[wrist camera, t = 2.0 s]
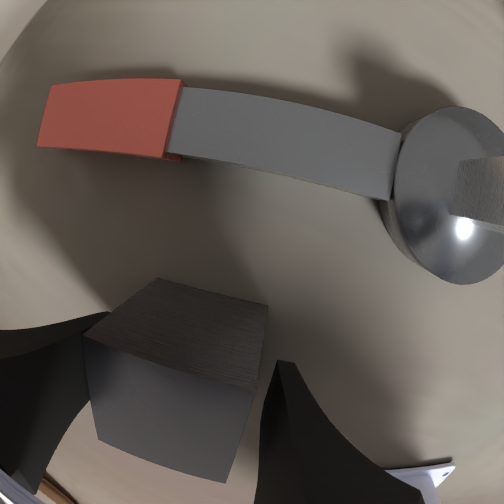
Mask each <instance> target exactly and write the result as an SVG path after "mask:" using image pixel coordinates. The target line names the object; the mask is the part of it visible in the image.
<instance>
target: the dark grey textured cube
mask: <svg viewBox="0 0 504 504" xmlns="http://www.w3.org/2000/svg"><path fill="white" fill-rule="evenodd" d="M267 309H268V306H266V305H261V304H257V303H253V302H249V301H244V300H240V299H236V298H232V297H228V296H224V295H220V294H216V293H212V292H208V291H204V290H200V289H196V288H192V287H189V286H185V285H181V284H177V283H174V282H170V281H166V280H163V279H159V278H156V279H155V280H154V281H152V282H151V283H150V284H148V285H147V286H146V287H144V288H143V289H142V290H140V291H139V292H138V293H136V294H135V295H134V296H132V297H131V298H130V299H128V300H127V301H126V302H124V303H123V304H122V305H120V306H119V307H118V308H116V309H115V310H114V311H112V312H111V313H110V314H108V315H107V316H106V317H105V318H103V319H102V320H101V321H99V322H98V323H97V324H96V325H94V326H93V327H92V328H90V329H89V330H88V331H87V332H85V333H84V334H83V335H82V336H83V348H84V358H85V367H86V375H87V382H88V389H89V395H90V401H91V407H92V412H93V417H94V422H95V427H96V431H97V436H98V440H100V441H102V442H105V443H107V444H109V445H111V446H113V447H115V448H118V449H120V450H122V451H125V452H127V453H129V454H132V455H134V456H137V457H139V458H142V459H144V460H147V461H150V462H152V463H155V464H158V465H161V466H164V467H167V468H170V469H173V470H176V471H179V472H183V473H186V474H189V475H193V476H197V477H200V478H204V479H208V480H212V481H216V482H221V483H226V481H227V478H228V475H229V472H230V469H231V466H232V463H233V460H234V457H235V454H236V451H237V448H238V445H239V442H240V439H241V436H242V433H243V430H244V427H245V424H246V421H247V418H248V415H249V411H250V408H251V405H252V402H253V398H254V395H255V392H256V386H257V380H258V373H259V366H260V359H261V352H262V345H263V338H264V331H265V324H266V316H267Z"/></svg>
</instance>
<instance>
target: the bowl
mask: <svg viewBox="0 0 504 504" xmlns="http://www.w3.org/2000/svg"><path fill="white" fill-rule="evenodd" d="M0 496H1V497H2V498H3V499H4V500H5V501H6V502H7V503H8V504H13V503H12V502H11V501H10V500H9V499H7V498H6V497H5V496H4V495H3V494H1V493H0ZM34 496H35V497H37V498H38V499H39V500H41V501H42V502H44V503H45V504H74V503H73V502H72V501H71V500H70V499H69V498H68V497H67V496H65V495H64V494H63V493H62V492H61V491H59V490H58V489H57V488H56V487H55V486H53V485H52V484H51V483H50V482H48V481H47V480H46V479H44V478H42V480H41V483H40V485H39V488H38V491H37V494H36V495H34Z"/></svg>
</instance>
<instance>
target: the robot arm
mask: <svg viewBox="0 0 504 504" xmlns="http://www.w3.org/2000/svg"><path fill="white" fill-rule="evenodd" d="M110 313H111V312H108V311H106V312H100V313H96V314H92V315H88V316H84V317H80V318H76V319H72V320H68V321H64V322H60V323H55V324H51V325H46V326H41V327H35V328H28V329H18V330H0V493H1V494H3V495H4V496H5V497H6V498H7V499H9V500H10V501H11V502H12V503H13V504H45V503H44V502H42V501H41V500H39V499H38V498H37V497H35V496H34V495H36V494H37V491H38V488H39V485H40V483H41V480H42V478H43V475H44V472H45V470H46V468H47V466H48V464H49V462H50V460H51V457H52V455H53V453H54V451H55V450H56V448H57V446H58V444H59V442H60V441H61V439H62V437H63V435H64V434H65V432H66V431H67V429H68V427H69V426H70V424H71V423H72V421H73V420H74V418H75V417H76V416H77V414H78V413H79V412H80V411H81V409H82V408H83V407H84V406H85V405H86V404H87V403H88V401H89V400H90V395H89V389H88V382H87V375H86V367H85V358H84V348H83V336H82V335H83V334H84V333H85V332H87V331H88V330H89V329H90V328H92V327H93V326H94V325H96V324H97V323H98V322H99V321H101V320H102V319H103V318H105V317H106V316H107V315H108V314H110ZM454 468H455V463H454V462H451V463H445V464H439V465H433V466H425V467H417V468H408V469H395V470H383V469H382V468H380V467H379V466H377V465H376V464H374V463H373V462H372V461H371V460H369V459H368V458H367V457H365V456H364V455H363V454H362V453H361V452H360V451H358V450H357V449H356V448H355V447H354V446H353V445H352V444H351V443H350V442H349V441H348V440H347V439H346V438H345V437H344V436H343V435H342V434H341V433H340V432H339V431H338V430H337V429H336V428H335V426H334V425H333V424H332V423H331V422H330V420H329V419H328V418H327V416H326V415H325V414H324V412H323V411H322V410H321V408H320V407H319V405H318V404H317V402H316V400H315V399H314V397H313V396H312V394H311V392H310V391H309V389H308V387H307V385H306V384H305V382H304V380H303V378H302V376H301V374H300V372H299V370H298V368H297V367H296V365H295V363H291V362H286V361H281V360H277V363H276V366H275V369H274V372H273V376H272V379H271V382H270V385H269V388H268V391H267V394H266V397H265V400H264V404H263V410H262V416H261V422H260V443H259V470H258V482H257V488H256V494H255V500H254V504H441V501H440V498H439V495H438V493H437V490H436V487H437V486H438V485H439V484H440V483H441V482H442V481H443V480H444V479H445V478H446V477H447V476H448V475H449V474H450V473H451V472H452V471H453V470H454ZM0 504H5V503H4V501H3V500H2V499H1V498H0Z"/></svg>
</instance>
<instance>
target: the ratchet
mask: <svg viewBox="0 0 504 504" xmlns="http://www.w3.org/2000/svg"><path fill="white" fill-rule="evenodd" d="M37 146H39V147H49V148H58V149H70V150H83V151H94V152H105V153H115V154H124V155H132V156H140V157H148V158H155V159H163V160H170V161H176V162H181V159H182V157H186V158H192V159H199V160H205V161H211V162H216V163H222V164H228V165H233V166H238V167H243V168H248V169H253V170H258V171H263V172H268V173H272V174H277V175H282V176H286V177H290V178H295V179H299V180H303V181H307V182H311V183H315V184H319V185H323V186H327V187H331V188H335V189H339V190H342V191H346V192H350V193H353V194H357V195H360V196H364V197H367V198H371V199H375V200H379V206H380V211H381V215H382V218H383V221H384V224H385V227H386V229H387V231H388V233H389V235H390V237H391V239H392V240H393V242H394V243H395V245H396V246H397V247H398V249H399V250H400V251H401V252H402V253H403V254H404V255H405V256H406V257H407V258H409V259H410V260H411V261H413V262H414V263H416V264H418V265H419V266H421V267H423V268H424V269H426V270H428V271H429V272H431V273H432V274H434V275H436V276H437V277H439V278H441V279H443V280H445V281H447V282H450V283H454V284H460V285H465V284H473V283H477V282H480V281H482V280H485V279H486V278H488V277H490V276H491V275H493V274H494V273H495V272H496V271H498V270H499V269H500V268H501V266H502V265H503V264H504V133H503V132H502V131H501V130H500V129H499V128H498V127H497V126H496V125H495V124H494V123H493V122H492V121H491V120H490V119H488V118H487V117H486V116H484V115H483V114H481V113H479V112H477V111H475V110H472V109H469V108H465V107H447V108H442V109H440V110H437V111H435V112H433V113H431V114H429V115H427V116H425V117H423V118H420V119H418V120H416V121H414V122H412V123H410V124H409V125H407V126H406V127H404V128H403V129H402V130H401V131H400V132H399V133H398V132H395V131H392V130H390V129H387V128H384V127H381V126H378V125H375V124H372V123H369V122H366V121H363V120H359V119H356V118H353V117H349V116H346V115H342V114H339V113H335V112H332V111H328V110H324V109H320V108H316V107H312V106H308V105H303V104H299V103H294V102H289V101H284V100H279V99H274V98H269V97H263V96H257V95H251V94H244V93H237V92H230V91H221V90H212V89H202V88H190V87H188V86H187V85H186V84H185V83H184V82H183V81H182V80H181V79H154V78H135V79H107V80H92V81H81V82H72V83H64V84H56V85H51V88H50V92H49V95H48V99H47V102H46V106H45V110H44V114H43V118H42V122H41V127H40V132H39V136H38V141H37Z"/></svg>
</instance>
